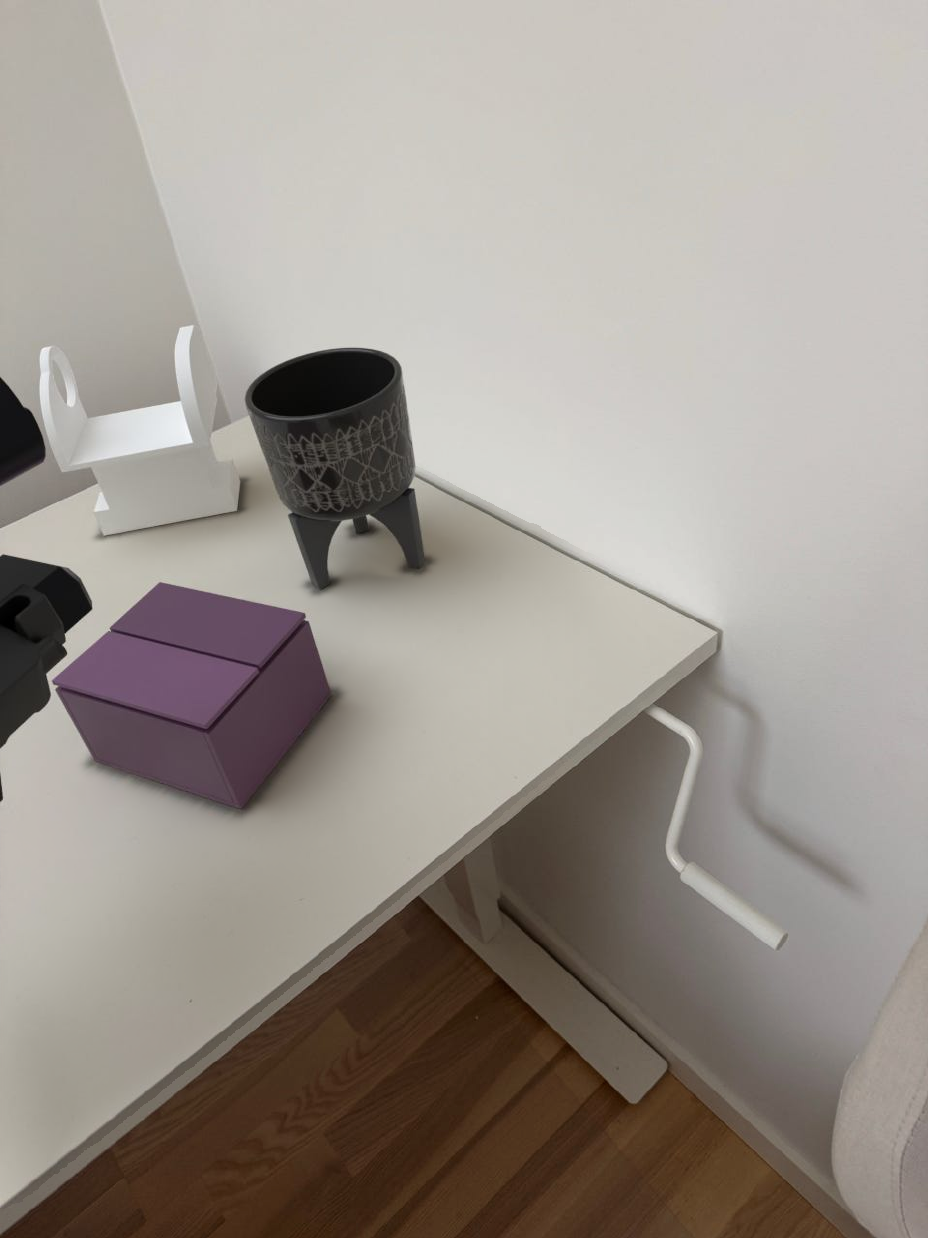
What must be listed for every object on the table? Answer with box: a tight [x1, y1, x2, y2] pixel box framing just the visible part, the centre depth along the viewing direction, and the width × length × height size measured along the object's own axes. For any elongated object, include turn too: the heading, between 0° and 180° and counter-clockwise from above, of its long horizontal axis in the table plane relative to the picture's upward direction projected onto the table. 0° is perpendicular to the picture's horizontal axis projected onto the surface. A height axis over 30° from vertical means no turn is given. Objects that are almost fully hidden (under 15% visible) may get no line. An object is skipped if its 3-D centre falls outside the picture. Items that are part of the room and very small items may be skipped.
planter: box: [244, 346, 426, 590], centre depth 83 cm, size 13×13×18 cm
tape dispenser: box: [39, 324, 241, 537], centre depth 96 cm, size 14×13×18 cm
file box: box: [54, 581, 332, 810], centre depth 71 cm, size 12×14×8 cm
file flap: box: [51, 630, 259, 729], centre depth 66 cm, size 6×14×1 cm, turn 64°
